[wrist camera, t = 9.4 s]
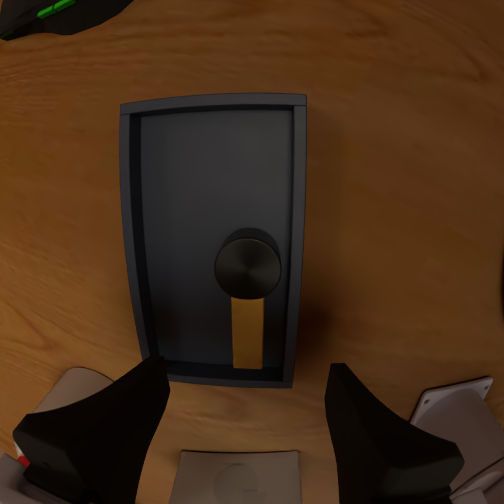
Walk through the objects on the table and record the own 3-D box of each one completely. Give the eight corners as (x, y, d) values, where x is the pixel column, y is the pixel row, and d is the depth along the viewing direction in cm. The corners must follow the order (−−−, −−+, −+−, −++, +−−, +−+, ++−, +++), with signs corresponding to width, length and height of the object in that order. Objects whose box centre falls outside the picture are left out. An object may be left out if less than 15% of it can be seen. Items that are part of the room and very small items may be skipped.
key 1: (276, 348, 18) (276, 370, 16) (223, 346, 18) (218, 367, 16) (281, 228, 16) (282, 238, 14) (220, 227, 16) (212, 236, 14)
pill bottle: (116, 440, 23) (75, 526, 12) (53, 389, 22) (-6, 466, 11) (155, 413, 21) (110, 523, 11) (79, 351, 20) (1, 446, 9)
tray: (290, 369, 19) (292, 388, 17) (155, 360, 19) (146, 378, 18) (302, 102, 14) (306, 94, 13) (135, 109, 15) (119, 104, 13)
